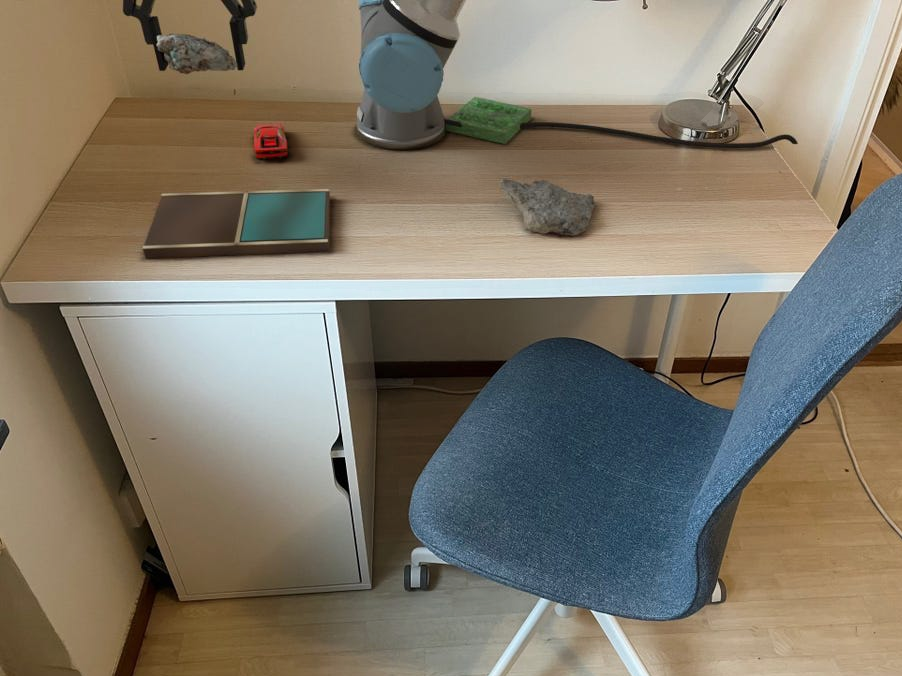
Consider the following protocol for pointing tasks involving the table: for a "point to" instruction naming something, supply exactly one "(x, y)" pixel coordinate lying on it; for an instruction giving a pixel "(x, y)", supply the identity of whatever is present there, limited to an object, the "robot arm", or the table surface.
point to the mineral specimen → (194, 54)
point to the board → (239, 223)
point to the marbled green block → (489, 120)
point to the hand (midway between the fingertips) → (203, 67)
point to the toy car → (270, 141)
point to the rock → (550, 207)
